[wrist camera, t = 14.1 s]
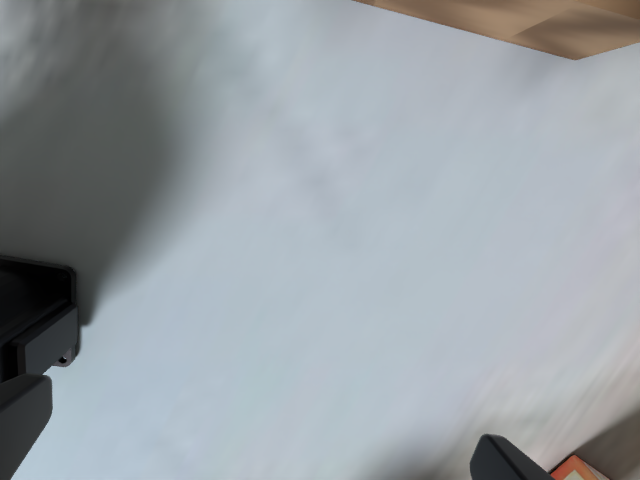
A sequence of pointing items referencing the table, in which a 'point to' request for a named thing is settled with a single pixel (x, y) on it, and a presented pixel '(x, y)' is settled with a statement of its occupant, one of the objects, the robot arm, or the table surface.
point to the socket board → (535, 22)
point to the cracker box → (577, 471)
